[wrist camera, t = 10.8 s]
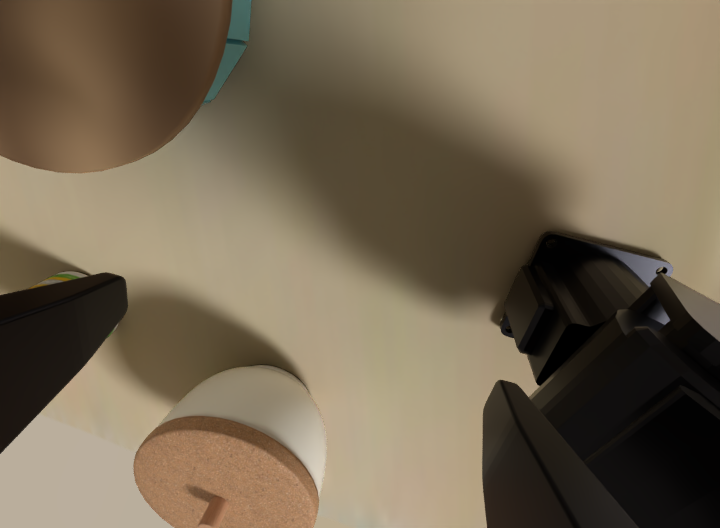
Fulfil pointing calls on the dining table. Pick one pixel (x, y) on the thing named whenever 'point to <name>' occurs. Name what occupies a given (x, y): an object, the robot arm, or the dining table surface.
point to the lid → (103, 77)
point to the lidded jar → (237, 454)
